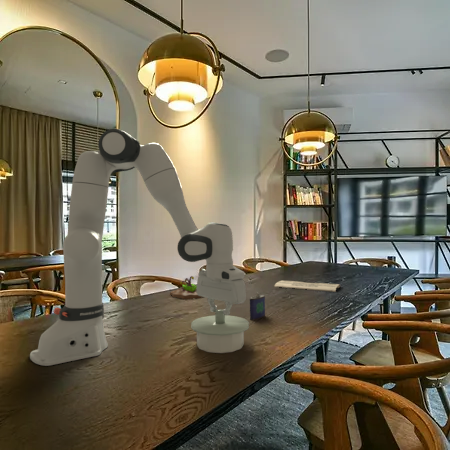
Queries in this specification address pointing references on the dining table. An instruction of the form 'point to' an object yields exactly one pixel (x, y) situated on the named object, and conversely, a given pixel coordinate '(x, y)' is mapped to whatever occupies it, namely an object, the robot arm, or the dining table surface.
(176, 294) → the plant
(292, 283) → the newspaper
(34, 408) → the dining table surface
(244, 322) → the lid
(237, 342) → the bowl
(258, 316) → the flask
